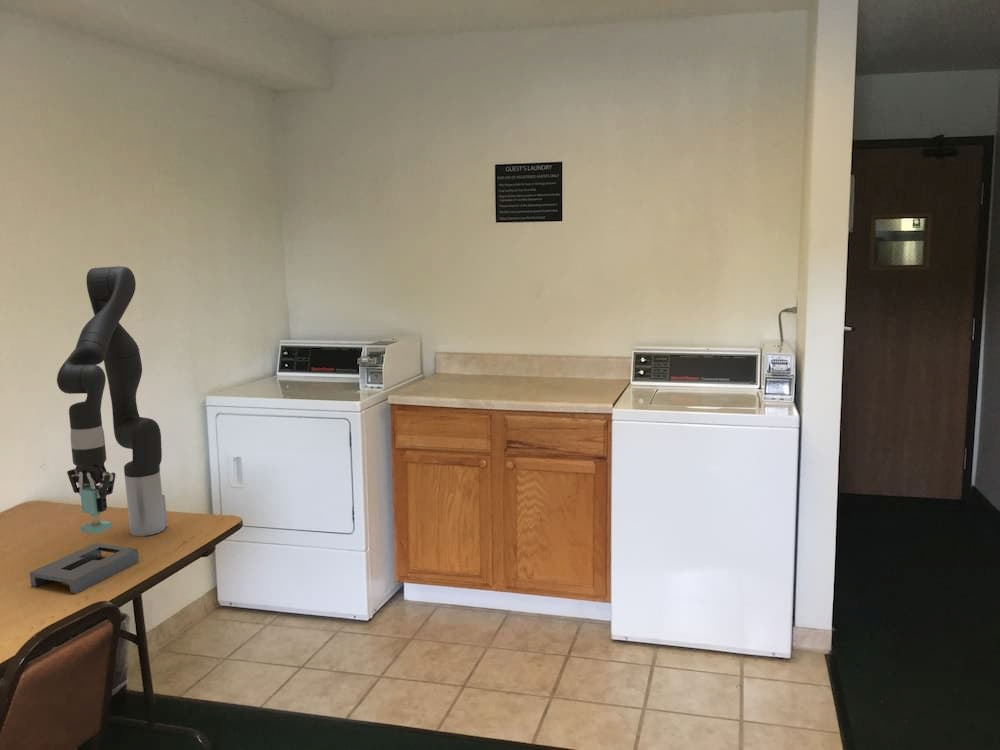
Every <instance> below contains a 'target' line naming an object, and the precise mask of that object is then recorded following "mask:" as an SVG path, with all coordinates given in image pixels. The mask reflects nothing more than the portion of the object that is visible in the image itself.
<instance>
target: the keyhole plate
mask: <svg viewBox="0 0 1000 750" xmlns="http://www.w3.org/2000/svg"><path fill="white" fill-rule="evenodd" d="M102 552H108V553H112V554H110V555H108V556H107V557H105V558H102V559H99V558H101V557H103V556H102ZM139 557H140V556H139V549H138V548H133V547H128V546H127V547H125V546H120V545H113V544H107V543H106V544H105V543H99V542H95V543H92V544H90V545H88V546H86V547H83V548H81V549H79V550H77V551H74V552H72V553H70V554H68V555H65V556H63V557H61V558H59V559H56V560H55V561H54V560H53V561H52V562H50V563H48V564H45V565H43V566H41V567H39V568H36V569H34V570H32V571H30V572H29V578H30V586H31V587H34V588H35V587H39V586H40V585H43V584H45V583H47V582H49V581H55V582H61V583H66V584H68V585H69V593H70V594H74V595H76V594H78V593H80V592H82V591H84V590H86V589H88V588H90V587H92V586H95V585H96V584H99V583H100V582H102V581H104V580H106V579H108V578H111V577H112V576H114V575H116V574H118V573H120V572H122V571H124V570H126V569H128V568H130V567H132V566H134V565H136V564H138V563H140V559H139ZM98 559H99V560H98Z"/></svg>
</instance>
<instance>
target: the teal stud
mask: <svg viewBox="0 0 1000 750" xmlns="http://www.w3.org/2000/svg"><path fill="white" fill-rule="evenodd" d="M99 491H100V492H102V491H101V488H99ZM80 495H81V496H80ZM80 495H79V496H80V503H81V511H82V512H81V513H82V514H90V521H91V522H88V523H85V524H84V525H83V524H82V525H81V526H80V533H82V534H83V533H84V534H89V535H91V534H92V535H99V534H101V533H103V532H105V531H108V530H111V529H112V528H113V523H112V521H107V520H106V521H105V520H101V515H100V513H101V512H98V511H97V502H96V498H97V497H96V495H95V490H92V488H91V486H90V487H86V488H85V489H81V490H80ZM106 503H107V501H106ZM107 510H108V507H107V508H106V510H105V511H107Z"/></svg>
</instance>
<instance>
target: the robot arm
mask: <svg viewBox="0 0 1000 750" xmlns="http://www.w3.org/2000/svg"><path fill="white" fill-rule="evenodd" d="M136 285H137V284H136V278H135V275H134V273H133V270H131V269H130V268H129V267H127V266H120V265H119V266H105V267H104V266H103V267H94V268H90V269H89V270H88V271H87V273H86V289H87V294H88V297H89V301H90V304H91V309H92V311H93V314H94V316H92V318H91V319H90V320H89V321H87V322H86V323H85V325H84V327H83V328H82V329H81V332H80V334H79V337H78V340H77V342H76V346H75V348H74V349H73V351H72V352H71V353H70V355H69V356H68V358H67V359H66V360H64V363H63V364H62V365H61V367H60V368H59V371H58V373H57V377H56V384H57V386H58V389H59V390H60V391H61V392H62V393H64V394H69V395H71V394H72V395H75V394H79V395H80V394H86V398H85V400H84V401H81V402H79V401H78V402H76V403H74V404H71V405H70V406H69V408H68V417H69V426H70V435H69V436H70V448H71V455H72V456H71V458H72V463H73V465H75V468H73V469H69V470H67V472H66V474H67V477H68V479H69V482H70V485H71V487H72V490H73V492H74V494H79V497H81V495H80V490H81V489H85V488H86V487H90V486H91V488H92V490H95V495H96V497H97V498H96V502H97V511H98V512H100V513H103V512H105V511H107V510H106V508H107V509H108V504H107V503H106V502H107V497H108V496H109V495H111V494H113V491H114V485H115V480H116V477H117V476H116V473H115V472H109V471H107V469H106V468H107V467H106V466H105V463H106V461H107V451H106V440H105V431H104V429H103V422H102V411H101V409H102V400H103V397H104V396H103V393H104V390H105V386H106V376H107V383H108V389H109V395H110V401H111V409H112V422H113V423H112V424H113V425H112V426H113V434H114V438H115V441H116V442H117V444H118V445H119V446H120V447H122V448H125V449H128V450H132V459H131V461H128V462H127V463H125V465H124V466H123V471H124V482H125V483H124V484H125V493H126V501H127V504H126V505H127V512H128V513H127V514H128V522H129V524H128V525H129V533H130V534H131V536H135V537H147V536H152V535H156V533H157V534H159V533H162V532H163V531H165V529H166V528H167V527H168V526H169V525H168V518H167V506H166V496H165V494H163V490H162V480H161V478H162V477H161V467H160V466H161V463H162V459H163V451H162V447H163V446H162V432H161V429H160V426H159V423H158V422H157V421H156V420H154V419H152V418H148V417H143V416H141V417H140V414H139V410H138V404H137V392H138V388H139V385H140V382H141V378H142V374H143V364H142V359H141V351H140V348H139V345H138V344H137V341H135V339H134V337H132V336H131V335H130V333H129V332H128V331H127V330H126V329H125V328H124V327H123V326H122V325H121V323H120V320H121V319H122V318H123V315H124V314H125V312H126V310H127V308H128V307H129V305H130V303H131V301H132V299H133V297H134V294H135V293H136ZM102 362H103V364H104V369H105V371H104V369H102V367H101V366H100V364H101V363H102ZM77 484H78V485H77ZM99 488H101V491H102V492H100V491H99ZM166 526H167V527H166ZM161 531H162V532H161Z"/></svg>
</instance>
